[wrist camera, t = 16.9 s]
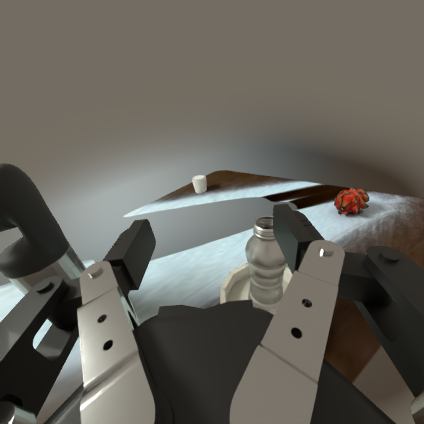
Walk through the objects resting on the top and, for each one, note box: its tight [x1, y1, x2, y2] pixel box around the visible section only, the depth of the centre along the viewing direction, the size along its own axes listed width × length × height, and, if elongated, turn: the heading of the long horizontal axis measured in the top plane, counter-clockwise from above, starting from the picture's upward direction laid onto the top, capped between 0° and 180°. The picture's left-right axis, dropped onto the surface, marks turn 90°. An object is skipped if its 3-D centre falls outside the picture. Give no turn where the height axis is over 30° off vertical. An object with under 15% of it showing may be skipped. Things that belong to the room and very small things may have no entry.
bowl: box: [220, 263, 292, 304], centre depth 36 cm, size 17×17×4 cm
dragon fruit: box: [334, 188, 369, 215], centre depth 59 cm, size 8×8×12 cm
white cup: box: [192, 175, 207, 193], centre depth 90 cm, size 7×7×7 cm
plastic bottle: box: [245, 216, 287, 314], centre depth 31 cm, size 6×7×20 cm
